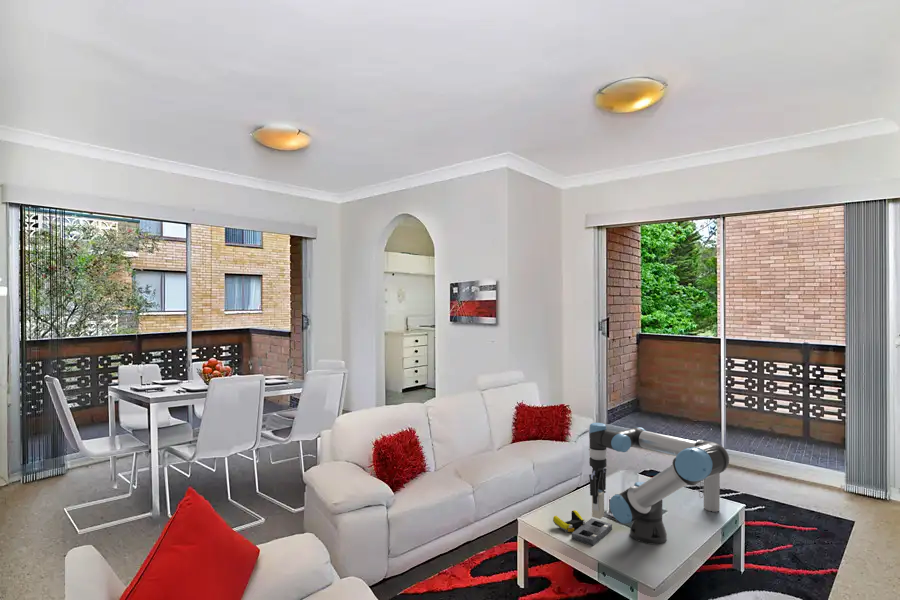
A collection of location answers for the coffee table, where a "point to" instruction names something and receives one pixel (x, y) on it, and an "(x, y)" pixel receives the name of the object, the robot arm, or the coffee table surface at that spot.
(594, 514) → the plug
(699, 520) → the coffee table surface
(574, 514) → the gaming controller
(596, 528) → the panel
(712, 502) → the water bottle
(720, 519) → the coffee table surface
